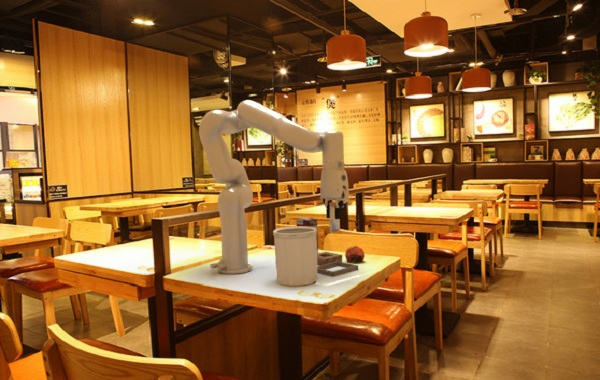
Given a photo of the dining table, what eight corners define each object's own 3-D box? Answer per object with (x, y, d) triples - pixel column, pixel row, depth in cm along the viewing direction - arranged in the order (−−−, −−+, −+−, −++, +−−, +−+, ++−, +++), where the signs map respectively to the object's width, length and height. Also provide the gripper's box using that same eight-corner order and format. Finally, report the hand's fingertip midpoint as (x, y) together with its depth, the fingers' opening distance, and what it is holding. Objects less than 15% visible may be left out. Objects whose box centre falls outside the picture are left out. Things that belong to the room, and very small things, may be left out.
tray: (332, 279, 151) (332, 272, 151) (312, 274, 158) (312, 267, 158) (358, 272, 160) (358, 265, 159) (338, 267, 167) (337, 261, 167)
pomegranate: (365, 271, 169) (367, 251, 176) (360, 259, 164) (363, 239, 172) (346, 272, 172) (349, 252, 179) (341, 260, 167) (344, 240, 174)
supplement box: (296, 255, 191) (295, 218, 190) (305, 253, 194) (304, 217, 193) (310, 258, 184) (309, 220, 183) (318, 256, 188) (317, 219, 186)
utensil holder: (272, 287, 144) (270, 233, 143) (277, 275, 159) (275, 226, 157) (318, 286, 143) (316, 232, 142) (318, 274, 158) (317, 225, 157)
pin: (335, 232, 156) (334, 203, 155) (328, 231, 158) (327, 202, 157) (341, 231, 158) (340, 202, 157) (334, 230, 160) (333, 201, 160)
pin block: (325, 269, 165) (325, 258, 165) (309, 265, 172) (308, 255, 171) (342, 265, 171) (342, 254, 170) (325, 261, 178) (325, 251, 177)
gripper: (358, 166, 153) (359, 219, 154) (324, 166, 165) (325, 215, 166) (343, 166, 148) (344, 221, 149) (309, 167, 160) (310, 217, 161)
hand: (334, 217), depth 158 cm, fingers closed on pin, 3 cm apart
